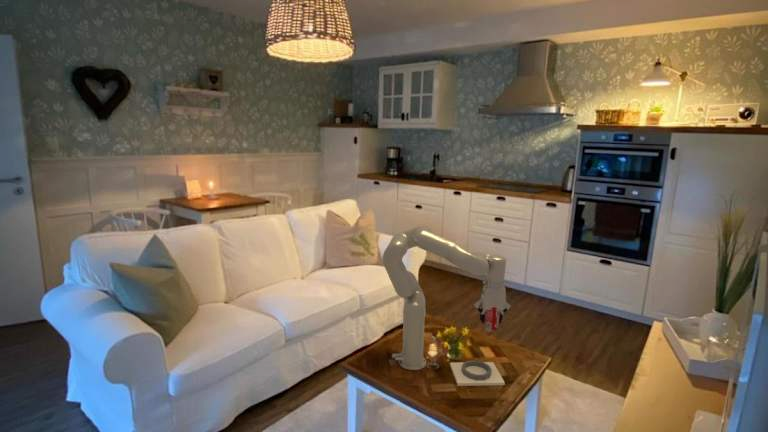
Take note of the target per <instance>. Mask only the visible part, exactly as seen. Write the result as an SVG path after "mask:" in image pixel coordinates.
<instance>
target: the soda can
mask: <svg viewBox="0 0 768 432" xmlns="http://www.w3.org/2000/svg"><path fill="white" fill-rule="evenodd" d="M484 315H485V321H484V323H482V322H481V324H482V328H483V329H484V330H486V331H488V332H495V331H497V330H498V329H499V324H500V323H499V317H500V310H499V309H498V308H496V307H493V308H491V309H490V310H486V311H485V313H484Z"/></svg>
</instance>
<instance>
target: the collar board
mask: <svg viewBox="0 0 768 432" xmlns="http://www.w3.org/2000/svg"><path fill="white" fill-rule="evenodd" d="M449 366H450V370H451V372H452V374H453V378H454V380H455V382H456V384H457V386H458V387H460V386H461V387H463V386H469V387H470V386H472V387H474V386H476V387H477V386H479V387H480V386H482V387H483V386H505V381H504V378H503V376H502V375H501V373H500V372H499V370H498V369H497V367H496V365H495V363H494V362H493V361H485V362H484V361H481V360H480V361H479V360H473V359H472V360H467V361H463V362H449Z"/></svg>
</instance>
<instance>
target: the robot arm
mask: <svg viewBox="0 0 768 432" xmlns="http://www.w3.org/2000/svg"><path fill="white" fill-rule="evenodd" d="M416 247H417V248H418V249H420V250H421V249H422V250H423V251H425V252H428V253H431V254H432V255H435V256H437V257H440V258H442V259H444V260H446V261H447V262H448V263H451V264H452V265H454V266H455V267H457V268H459V269H461V270H462V271H464V272H467V273H468V274H469V273H470V274H471V275H475V276H484V275H486V276H485V279H484V280H482V284H483V288H482V290H481V296H480V299H478V301H476V302H475V303H474V307H475V308H476V309H477V311H478V312H479V321H480V322H481V324H482V323H484V321H485V315H484V313H485V311H486V310H490V309H491V308H493V307H496V308H498V309H499V310H500V317H499V324H502V322H503V316H504V315H505V313H506V312H508V310H509V309H510V308H511V307H512V306H511V304H509V303H508V302H507V295H506V294H507V292H506V291H507V290H506V287H505V285H504V284H505V276H506V275H505V274H506V267H507V259H506V257H505V256H504V255H500V254H488V253H483V252H479V251H478V252H474V253H469V252H467V251H466V250H464V249H463V248H461V247H460V245H458V244H457V243H456V242H454V241H453V240H452V239H449V238H447V237H444V236H443V235H439V234H437V233H436V232H433V230H432V229H431V227H429V226H425V225H420V226H416V227H413V228H411V229H408V230H404V231H401V232H399V233H396V234H394V235H393V236H392V237H391V240H390V242H389V243H388V245H387V246H386V248H385V250H384V251H383V254H382V263H383V266H384V269H385V271H386V273H387V276H388V278H389V280H390V282H391V284H392V286H393V288H394V290H395V293H396V295H397V296H399V297H400V298H403V299H404V304H403V309H402V310H403V311H402V313H403V315H402V316H403V317H402V319H403V320H402V323H403V325H402V350H401V352H399V353H392V355H391V358H392V359H394V360H395V361H398V365H400V367H402V368H403V369H405V370H410V371H418V370H422V369H424V368H425V367H426V365H427V360H426V358H425V357H424V343H425V342H424V341H425V319H426V297H425V295H424V294H425V293H424V292H423V290H422V288H421V285H420V283H419V281H418V280H417V277H416V276H415V274H414V273H413V272H411V271H410V270H408V269H407V267H406V265H405V264H404V262H403V258H404V256H405V255H406V254H407V253H408V250H410V249H413V248H416ZM479 306H481V307H479Z"/></svg>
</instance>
